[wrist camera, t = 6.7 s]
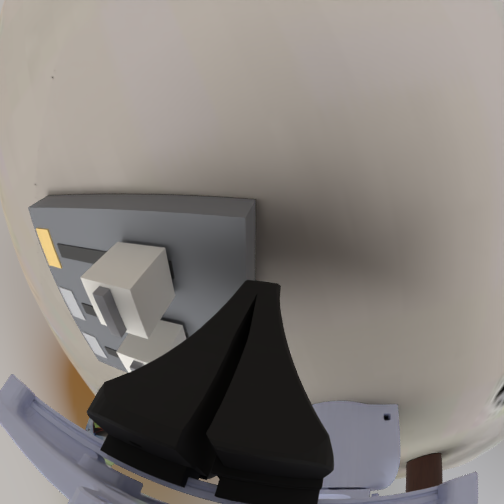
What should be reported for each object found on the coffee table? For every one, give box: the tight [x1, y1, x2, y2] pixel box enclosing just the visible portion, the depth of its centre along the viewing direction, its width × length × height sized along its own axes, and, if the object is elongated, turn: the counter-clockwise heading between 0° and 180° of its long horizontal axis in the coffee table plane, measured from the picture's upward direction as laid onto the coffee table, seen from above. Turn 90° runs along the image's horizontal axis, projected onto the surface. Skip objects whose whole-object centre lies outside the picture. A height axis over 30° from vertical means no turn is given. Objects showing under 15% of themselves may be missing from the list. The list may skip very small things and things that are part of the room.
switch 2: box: [116, 320, 186, 373], centre depth 14 cm, size 3×3×4 cm
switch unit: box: [28, 194, 256, 373], centre depth 17 cm, size 15×16×2 cm
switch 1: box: [80, 242, 175, 339], centre depth 11 cm, size 3×3×4 cm
